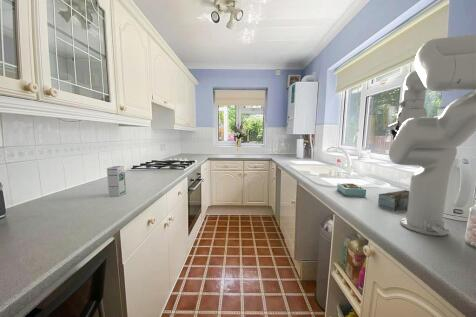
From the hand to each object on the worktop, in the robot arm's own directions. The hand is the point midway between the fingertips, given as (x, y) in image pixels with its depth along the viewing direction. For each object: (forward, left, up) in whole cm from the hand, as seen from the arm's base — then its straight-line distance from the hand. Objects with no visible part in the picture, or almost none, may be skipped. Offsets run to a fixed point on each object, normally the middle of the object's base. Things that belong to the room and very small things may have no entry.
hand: (408, 145), depth 92 cm
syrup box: (-4, +137, -28) cm, 140 cm away
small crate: (+20, +14, -28) cm, 37 cm away
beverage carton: (+2, 0, -29) cm, 29 cm away
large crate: (+20, +14, -28) cm, 37 cm away
